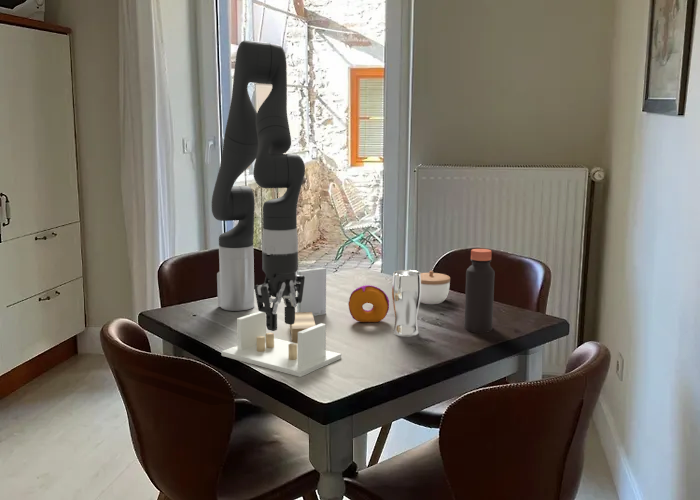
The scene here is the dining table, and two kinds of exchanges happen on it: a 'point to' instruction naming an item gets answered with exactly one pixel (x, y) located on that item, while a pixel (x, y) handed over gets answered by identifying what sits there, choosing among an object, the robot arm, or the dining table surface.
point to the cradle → (280, 347)
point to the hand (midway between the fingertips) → (280, 326)
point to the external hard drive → (313, 291)
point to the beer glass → (406, 301)
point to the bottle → (479, 292)
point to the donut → (368, 296)
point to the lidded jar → (434, 287)
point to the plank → (301, 324)
